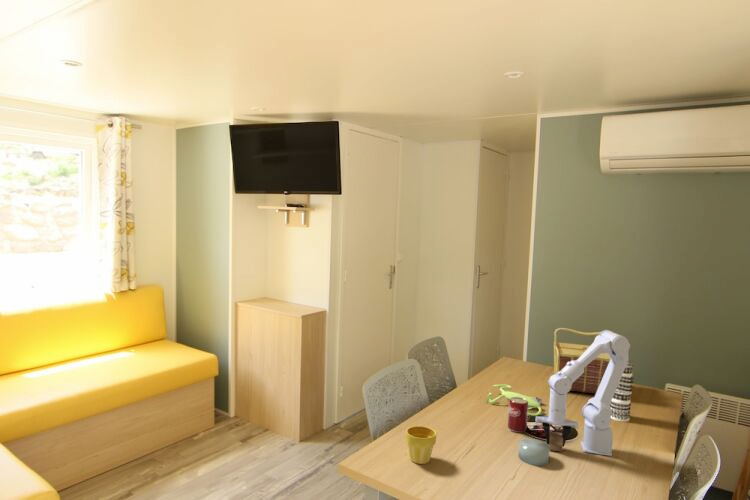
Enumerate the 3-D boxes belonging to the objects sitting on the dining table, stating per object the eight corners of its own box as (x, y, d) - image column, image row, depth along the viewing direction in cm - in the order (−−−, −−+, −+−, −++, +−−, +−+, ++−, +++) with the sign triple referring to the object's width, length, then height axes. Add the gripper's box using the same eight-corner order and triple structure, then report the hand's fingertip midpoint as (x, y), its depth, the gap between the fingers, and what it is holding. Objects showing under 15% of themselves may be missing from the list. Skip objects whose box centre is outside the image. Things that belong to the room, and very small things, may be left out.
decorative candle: (606, 418, 205) (610, 361, 204) (607, 411, 213) (611, 356, 212) (630, 423, 201) (635, 365, 199) (630, 416, 209) (634, 360, 208)
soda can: (513, 433, 187) (515, 404, 186) (504, 426, 194) (505, 397, 193) (530, 432, 189) (532, 402, 188) (519, 424, 196) (521, 396, 195)
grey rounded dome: (547, 454, 171) (548, 441, 171) (549, 468, 162) (550, 454, 161) (518, 450, 174) (519, 436, 174) (519, 463, 164) (519, 449, 164)
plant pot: (415, 449, 171) (417, 422, 171) (440, 459, 165) (442, 431, 164) (398, 459, 163) (400, 431, 163) (424, 470, 157) (425, 441, 156)
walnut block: (560, 446, 177) (561, 433, 177) (562, 451, 173) (563, 438, 172) (547, 444, 178) (548, 431, 178) (549, 449, 174) (549, 436, 174)
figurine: (496, 391, 234) (497, 380, 234) (551, 406, 218) (552, 394, 217) (479, 402, 220) (480, 390, 219) (537, 418, 203) (538, 406, 203)
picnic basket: (552, 392, 234) (556, 332, 232) (549, 376, 259) (553, 322, 257) (618, 401, 226) (622, 339, 224) (608, 384, 251) (612, 328, 249)
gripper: (577, 406, 176) (574, 442, 177) (535, 401, 180) (533, 436, 181) (580, 414, 170) (577, 451, 171) (537, 408, 173) (534, 444, 174)
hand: (555, 444), depth 175 cm, fingers closed on walnut block, 4 cm apart
